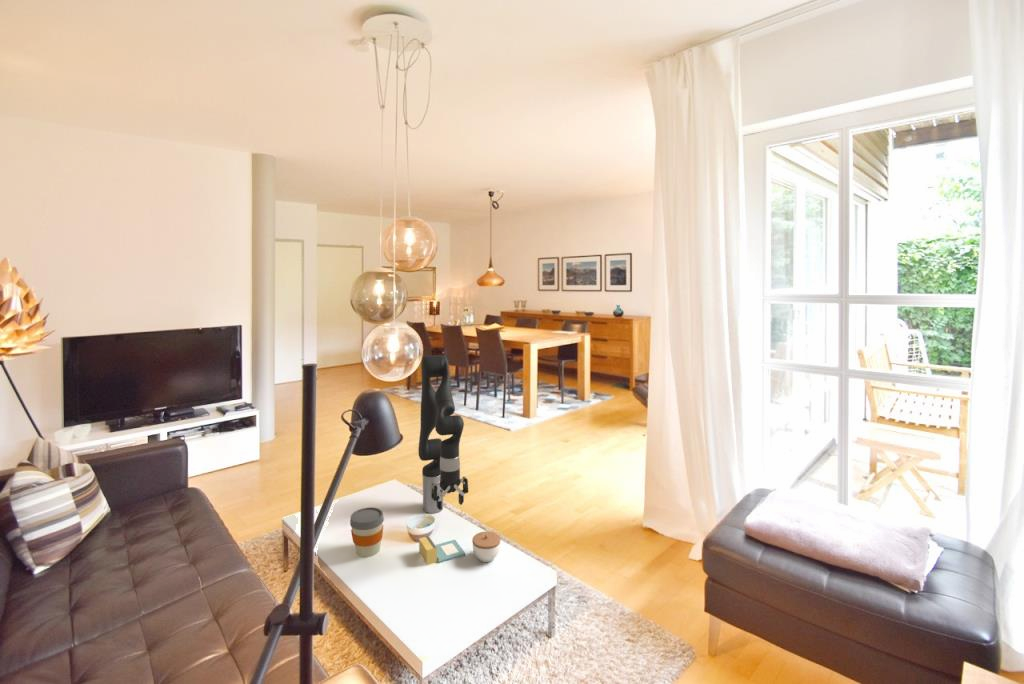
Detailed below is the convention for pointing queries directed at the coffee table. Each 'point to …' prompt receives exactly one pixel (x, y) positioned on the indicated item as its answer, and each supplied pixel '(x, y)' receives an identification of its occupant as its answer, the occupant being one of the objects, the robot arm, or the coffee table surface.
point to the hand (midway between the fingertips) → (450, 506)
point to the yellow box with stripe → (428, 550)
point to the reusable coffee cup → (367, 531)
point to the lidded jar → (486, 545)
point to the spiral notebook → (449, 551)
